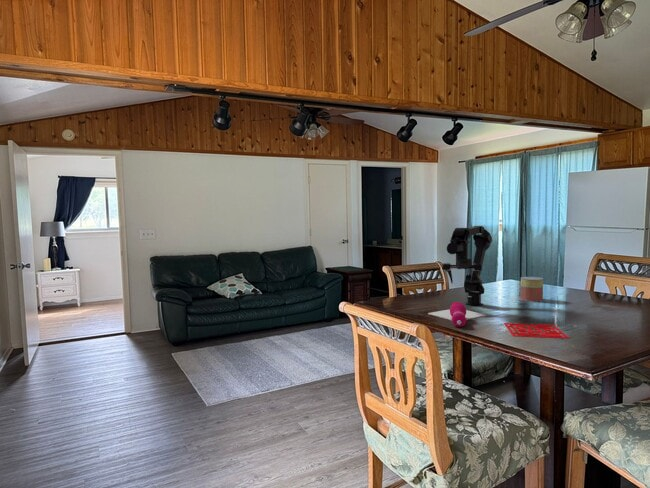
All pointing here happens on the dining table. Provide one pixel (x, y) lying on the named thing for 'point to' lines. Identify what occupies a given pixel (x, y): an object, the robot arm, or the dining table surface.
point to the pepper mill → (458, 314)
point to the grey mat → (447, 315)
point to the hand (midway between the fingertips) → (461, 283)
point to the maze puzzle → (538, 326)
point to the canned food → (532, 289)
